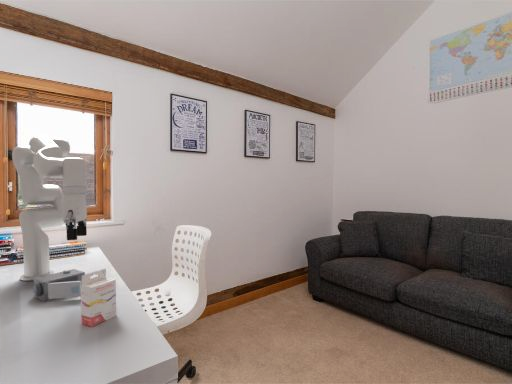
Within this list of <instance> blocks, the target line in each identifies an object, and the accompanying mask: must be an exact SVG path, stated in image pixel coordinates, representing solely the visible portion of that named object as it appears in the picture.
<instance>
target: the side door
mask: <svg viewBox="0 0 512 384" xmlns="http://www.w3.org/2000/svg"><path fill="white" fill-rule="evenodd" d="M77 297H81V281H71V282H58V283H49V282H46V283H45V300H49V299H52V300H54V299H55V298H56V299H65V298H77ZM56 299H55V300H56ZM49 301H50V300H49Z"/></svg>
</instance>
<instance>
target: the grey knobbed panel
mask: <svg viewBox="0 0 512 384" xmlns="http://www.w3.org/2000/svg"><path fill="white" fill-rule="evenodd" d="M85 274H86V272H85V271H82V270H79V269H77V268H76V269H75V268H72V269H65V270H63V271H59V272H54V274H50V275H46V276H42V277H38V278H34V280H33V296H34V298H36V299H38V300H40V301H42V302H45V303H46V302H49V301H52V300H53V299H49V300H45V283H46V282H49V283H58V282H71V281H81V280H82V275H85ZM56 299H57V298H55V300H56Z"/></svg>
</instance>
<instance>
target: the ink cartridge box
mask: <svg viewBox="0 0 512 384" xmlns="http://www.w3.org/2000/svg"><path fill="white" fill-rule="evenodd" d="M94 275H95V277H93V276H94ZM96 275H97V276H96ZM106 276H107V269H106V268H102V269H99V270H96V271H92V272H90V273H85V275H82V280H81V296H80V300H81V301H80V305H81V307H80V308H81V309H80V310H81V312H80V313H81V324H82V325H85V326H88V327H91V328H93V327H95V326H97V325H100V324H101V323H103V322H105V321H107V320H110V319H112V318H114V317H117V282H116V281H117V280H116V279H115V278H110V277H106Z"/></svg>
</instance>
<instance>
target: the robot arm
mask: <svg viewBox="0 0 512 384" xmlns="http://www.w3.org/2000/svg"><path fill="white" fill-rule="evenodd" d="M70 150H71V145H70V143H69V141H68V140H67V139H65V138H64V137H59V136H49V135H36V136H33V137H32V138H31V139H29V143H28V145H18V146H15V147H14V148H13V149H12V155H11V158H12V159H11V160H12V163H13V165H14V168H15V170H16V173H17V174H18V178H19V188H20V189H19V190H20V196H21V202H22V203H23V204H24V205H25V206H47V205H50V207H49V206H48V207H32V208H27V209H24V210H22V211H21V212H20V213H19V214H18V215H19V216H18V219H19V220H18V221H19V225H20V229H21V236H22V252H23V253H22V254H23V274H21V275H20V276H19V280H20V281H26V282H27V281H34V278H38V277H42V276H46V275H50V274H54V273H55V271H54V270H51V267H50V266H51V265H50V263H51V262H50V243H49V240H50V238H49V236H48V234H47V233H45V231H44V230H43V229H47V228H48V229H49V228H56V227H61V226H63V225H65V226H66V227H65V229H66V240H67V241H76V240H78V237H82V236H83V237H84V236H85V237H87V235H88V234H87V232H88V231H87V218H88V209H87V208H88V207H87V198H86V197H87V195H88V182H87V180H88V179H87V176H88V175H87V161H86V159H85V158H81V157H68V155H70ZM43 178H45V179H62V184H63V185H62V186H63V188H62V187H61V186H59V185H57V184H44V182H43V181H44V180H43ZM62 189H63V190H62Z"/></svg>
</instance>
